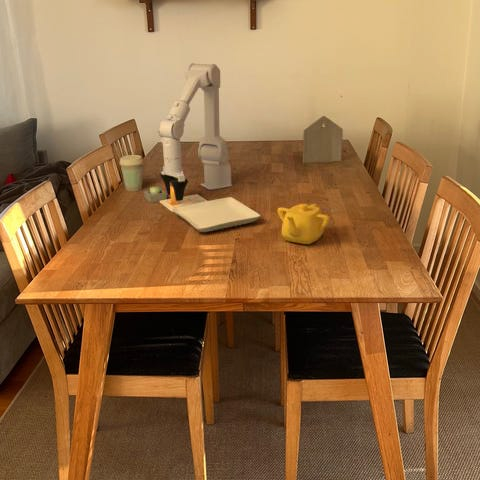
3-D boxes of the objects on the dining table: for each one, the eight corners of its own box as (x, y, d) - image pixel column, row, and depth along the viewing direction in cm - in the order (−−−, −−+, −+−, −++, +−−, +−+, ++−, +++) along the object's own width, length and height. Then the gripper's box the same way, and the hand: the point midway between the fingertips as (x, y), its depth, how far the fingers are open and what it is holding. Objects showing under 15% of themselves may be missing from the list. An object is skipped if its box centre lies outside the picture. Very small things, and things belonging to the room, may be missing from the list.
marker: (177, 201, 195) (177, 180, 192) (181, 204, 192) (180, 182, 190) (169, 203, 193) (168, 181, 191) (172, 205, 191) (171, 184, 188)
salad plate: (198, 238, 166) (198, 227, 165) (171, 217, 183) (171, 207, 182) (262, 225, 175) (262, 214, 173) (231, 206, 192) (230, 196, 191)
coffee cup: (140, 193, 206) (137, 160, 202) (118, 192, 208) (115, 159, 203) (149, 186, 214) (146, 154, 209) (127, 185, 216) (124, 154, 211)
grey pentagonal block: (337, 157, 249) (339, 111, 242) (341, 161, 241) (343, 115, 234) (299, 158, 248) (300, 113, 241) (303, 163, 241) (304, 116, 233)
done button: (158, 194, 202) (157, 185, 200) (161, 196, 199) (161, 188, 198) (149, 195, 200) (148, 187, 199) (152, 198, 197) (151, 189, 196)
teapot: (332, 247, 157) (334, 211, 153) (286, 251, 155) (287, 215, 152) (317, 229, 170) (318, 196, 166) (275, 233, 168) (275, 199, 164)
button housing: (160, 195, 204) (160, 188, 203) (166, 199, 199) (166, 192, 198) (144, 198, 201) (144, 191, 200) (150, 202, 196) (149, 195, 195)
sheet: (197, 195, 202) (197, 193, 202) (211, 204, 193) (211, 203, 192) (159, 202, 197) (159, 200, 196) (172, 212, 187) (172, 210, 186)
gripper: (153, 154, 191) (156, 193, 196) (169, 163, 179) (171, 205, 184) (173, 151, 194) (175, 190, 199) (189, 160, 182) (192, 201, 187)
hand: (175, 197), depth 192 cm, fingers open, 7 cm apart
